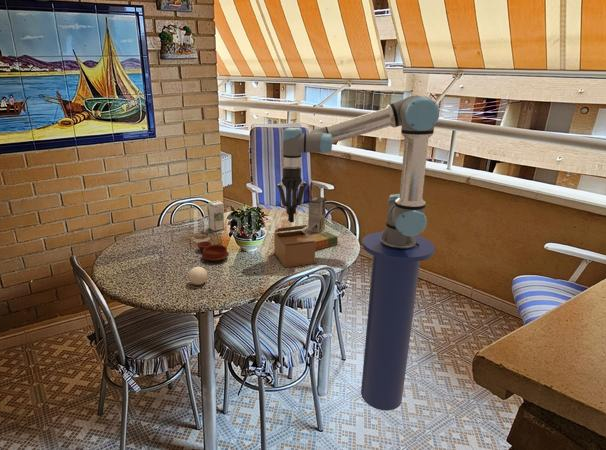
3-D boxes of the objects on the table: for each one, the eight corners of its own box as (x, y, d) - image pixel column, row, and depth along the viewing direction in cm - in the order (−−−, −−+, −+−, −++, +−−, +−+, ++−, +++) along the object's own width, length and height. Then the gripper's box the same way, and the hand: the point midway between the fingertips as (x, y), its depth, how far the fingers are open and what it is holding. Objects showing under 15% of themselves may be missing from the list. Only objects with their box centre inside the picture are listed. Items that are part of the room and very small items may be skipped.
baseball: (212, 282, 156) (211, 266, 154) (197, 289, 151) (196, 273, 149) (200, 277, 161) (199, 261, 158) (185, 284, 155) (184, 268, 153)
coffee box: (313, 225, 215) (314, 196, 209) (325, 227, 212) (326, 197, 207) (307, 231, 207) (308, 200, 202) (319, 233, 204) (320, 202, 199)
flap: (274, 232, 178) (274, 231, 178) (302, 229, 181) (302, 228, 181) (279, 228, 171) (278, 227, 171) (307, 225, 174) (307, 224, 174)
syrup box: (218, 226, 216) (217, 199, 211) (224, 229, 211) (223, 202, 207) (209, 228, 213) (207, 201, 208) (214, 231, 208) (213, 204, 204)
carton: (299, 246, 189) (299, 237, 187) (326, 239, 197) (326, 230, 195) (310, 252, 182) (310, 243, 181) (337, 244, 190) (338, 235, 188)
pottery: (209, 266, 169) (208, 257, 168) (189, 251, 185) (189, 242, 184) (233, 260, 175) (233, 250, 174) (212, 245, 191) (212, 236, 190)
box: (274, 253, 182) (274, 231, 178) (301, 249, 185) (302, 228, 181) (285, 267, 168) (285, 244, 165) (314, 263, 171) (315, 240, 168)
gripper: (303, 164, 172) (302, 217, 180) (274, 166, 169) (273, 220, 177) (310, 167, 165) (308, 222, 173) (279, 169, 162) (279, 225, 170)
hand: (291, 221), depth 175 cm, fingers closed
